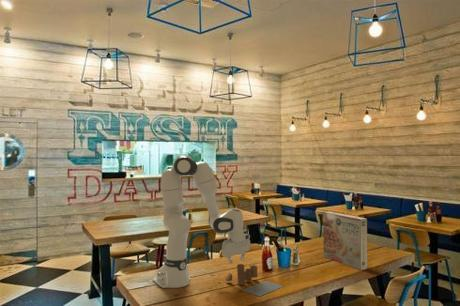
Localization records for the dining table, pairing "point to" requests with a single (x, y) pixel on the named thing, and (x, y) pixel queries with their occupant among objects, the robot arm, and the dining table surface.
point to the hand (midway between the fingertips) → (236, 261)
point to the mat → (262, 288)
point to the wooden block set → (244, 274)
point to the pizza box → (345, 239)
